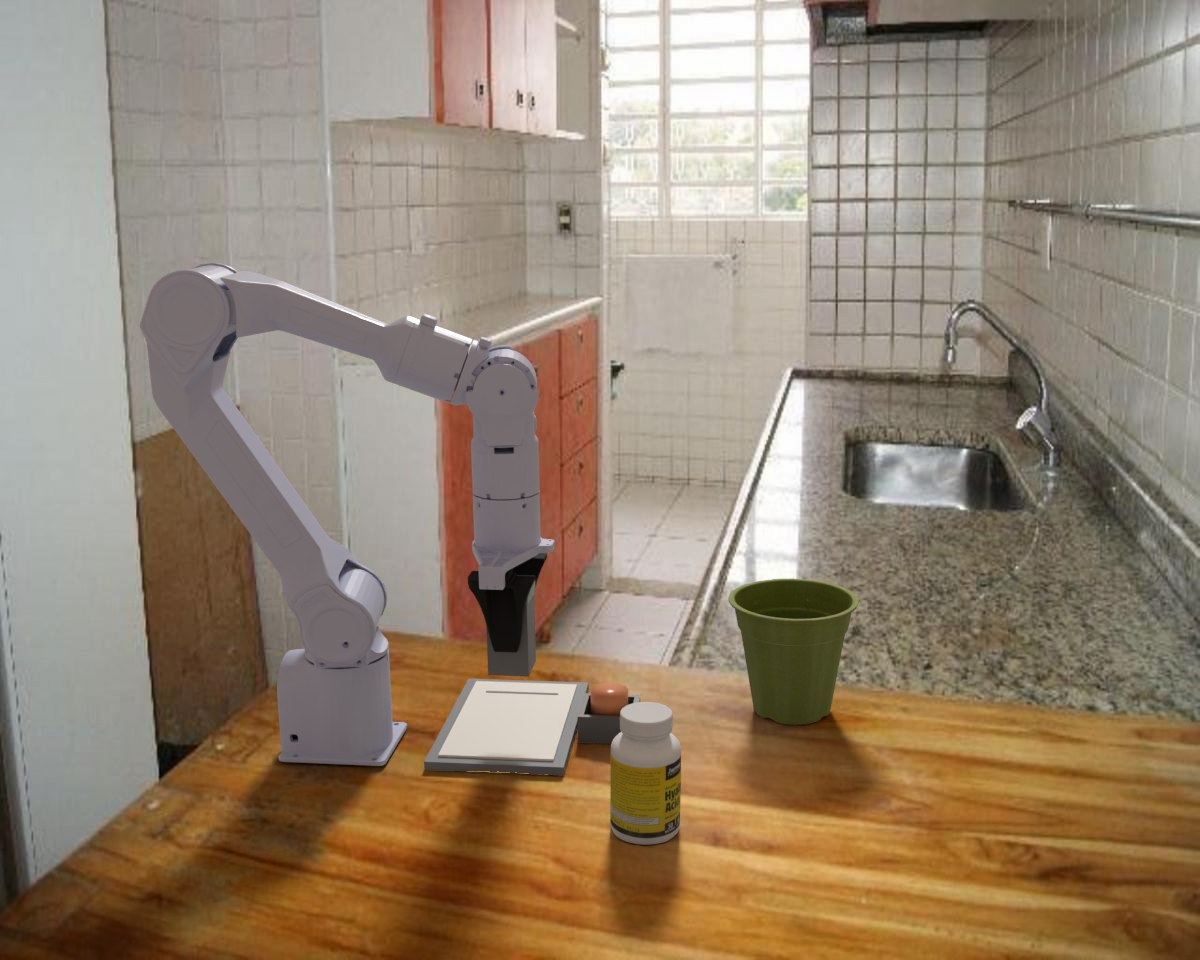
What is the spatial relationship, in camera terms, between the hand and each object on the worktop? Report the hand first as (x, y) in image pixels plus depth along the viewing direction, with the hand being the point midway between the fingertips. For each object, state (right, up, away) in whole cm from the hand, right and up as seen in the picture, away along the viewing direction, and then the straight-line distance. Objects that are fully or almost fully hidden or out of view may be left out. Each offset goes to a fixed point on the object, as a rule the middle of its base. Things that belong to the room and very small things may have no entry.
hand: (510, 641), depth 108 cm
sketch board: (0, -9, +5) cm, 10 cm away
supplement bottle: (+11, -13, -13) cm, 22 cm away
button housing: (+9, -9, +4) cm, 13 cm away
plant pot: (+26, -8, +8) cm, 28 cm away
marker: (0, -2, +1) cm, 2 cm away
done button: (+9, -7, +3) cm, 11 cm away
